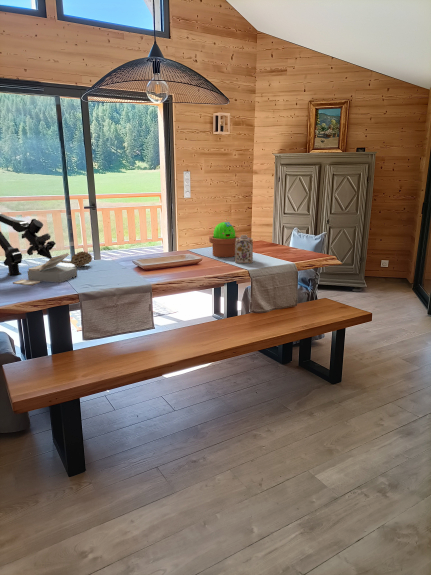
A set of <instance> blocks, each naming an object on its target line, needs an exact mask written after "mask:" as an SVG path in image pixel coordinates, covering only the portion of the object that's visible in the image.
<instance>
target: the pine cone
mask: <svg viewBox="0 0 431 575" xmlns="http://www.w3.org/2000/svg"><path fill="white" fill-rule="evenodd" d="M92 261H93V256H92V255H91V254H90V253H88V251H79V252H77V253H74V254H73V255H72V256H71V259H70V260H69V261H68V260H62V261H61V262H60V263H62V264H63V263H64V264H71V265H73V266H74V267H75V266H76V267H75V268H77V267H83V266H86V265H89V264H90V263H91V262H92Z"/></svg>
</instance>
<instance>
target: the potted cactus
mask: <svg viewBox="0 0 431 575" xmlns="http://www.w3.org/2000/svg"><path fill="white" fill-rule="evenodd" d="M208 237H209V240H208V241H209V244H212V256H214V257H216V258H232V257H235V240H236V238H240V237H241V236H239V235H236V230H235V227H234V226H233V225H232V224H231V223H230V221H223V222H219V223H218V224H217V225H216V226H215V227H214V230H213V235H210V236H208Z"/></svg>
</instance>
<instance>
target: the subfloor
mask: <svg viewBox="0 0 431 575" xmlns="http://www.w3.org/2000/svg"><path fill="white" fill-rule="evenodd" d="M44 264H45V263H43V264H39V265H36V266H35V265H34V266H32V267H30V268H28V269H27V278H28V279H27V280H34V281H41V282H48V283H62V282H66V281H68V280H71V279H73V278H75V276H76V277H78V270H77V267H75V266H74V267H71V266H69V267H68V266H62V265H61V266H60V265H59V266H58V265H56V266H54V267H50V268H47V269H44V270H41V271H39V270H38V269H39V268H40V267H41V266H43V265H44ZM72 277H73V278H72ZM70 278H71V279H70Z"/></svg>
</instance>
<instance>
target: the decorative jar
mask: <svg viewBox="0 0 431 575" xmlns="http://www.w3.org/2000/svg"><path fill="white" fill-rule="evenodd" d="M239 237H240V238H236V240H235V256H234V262H235V264H253V262H254V261H253V258H254V257H253V256H254V255H253V254H254V247H253V246H254V242H253V238H252V237H249V236H248V235H247V234H243V235H241V234H240V236H239Z"/></svg>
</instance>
